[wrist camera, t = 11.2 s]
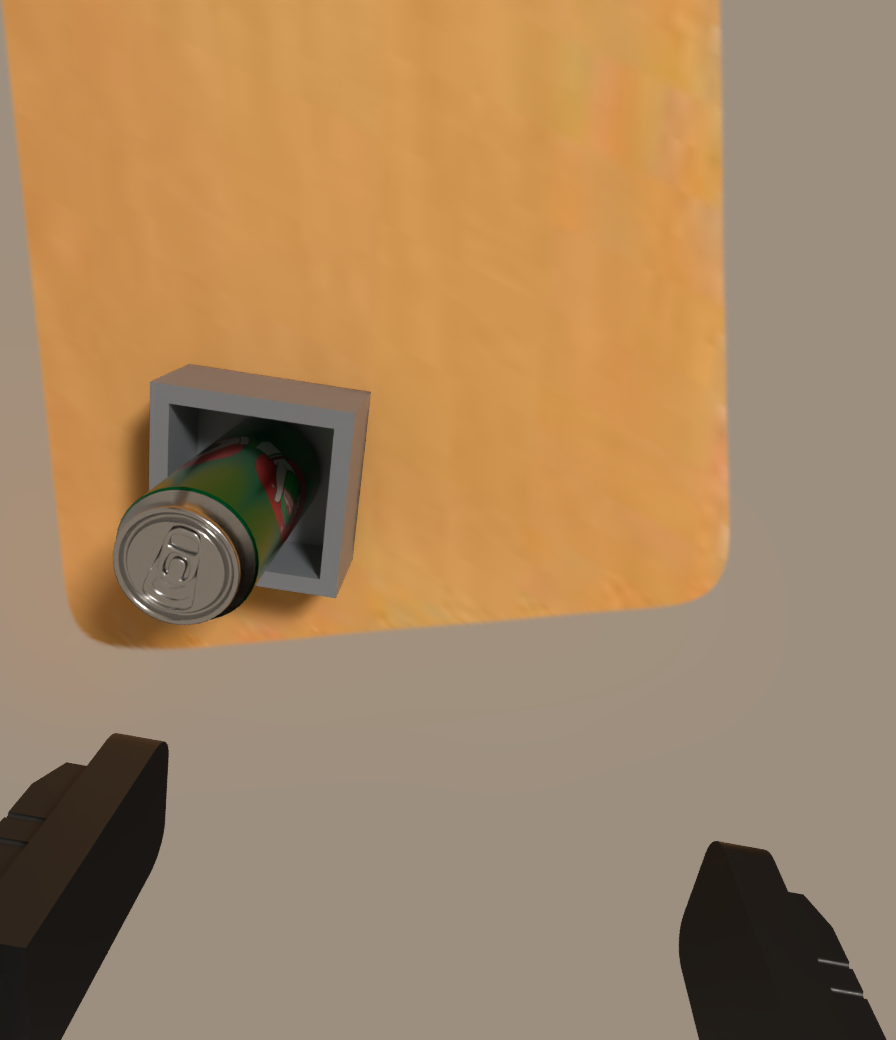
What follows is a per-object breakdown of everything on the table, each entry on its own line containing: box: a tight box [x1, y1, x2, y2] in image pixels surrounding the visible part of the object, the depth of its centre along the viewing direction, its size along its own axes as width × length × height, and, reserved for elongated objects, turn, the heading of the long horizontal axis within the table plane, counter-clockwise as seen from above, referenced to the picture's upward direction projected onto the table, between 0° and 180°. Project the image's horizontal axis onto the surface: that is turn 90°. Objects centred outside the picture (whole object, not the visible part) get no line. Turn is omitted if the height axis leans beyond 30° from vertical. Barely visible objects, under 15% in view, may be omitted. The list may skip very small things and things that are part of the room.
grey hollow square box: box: [149, 364, 371, 598], centre depth 37 cm, size 9×9×4 cm
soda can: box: [113, 419, 320, 625], centre depth 32 cm, size 5×5×12 cm
